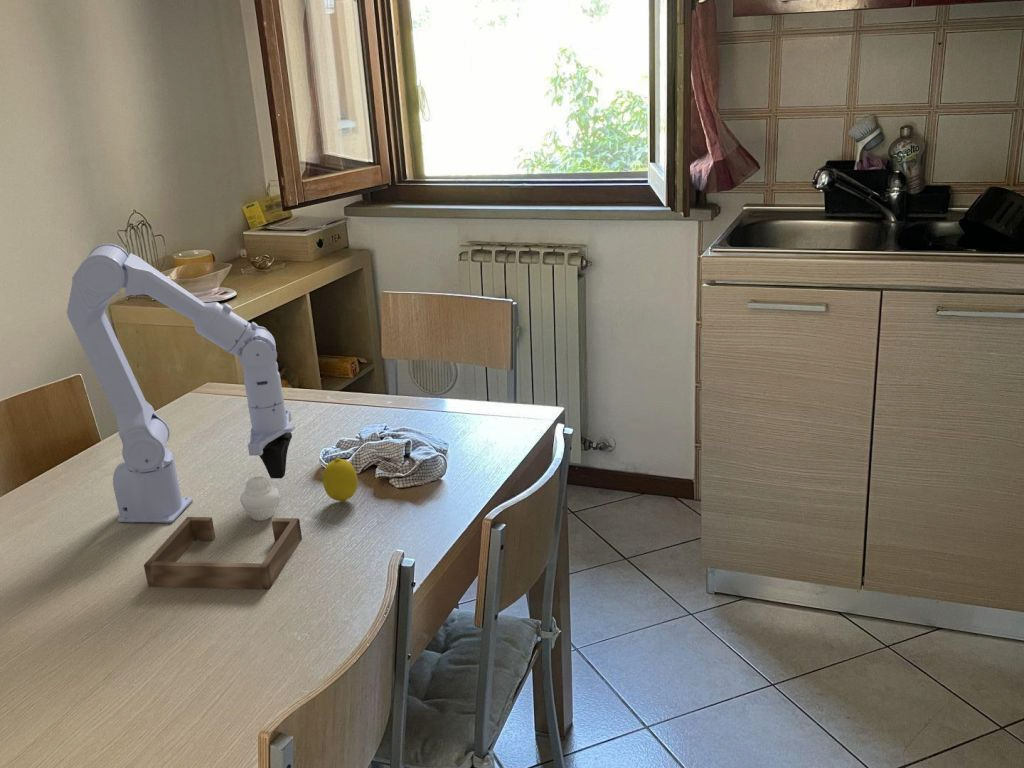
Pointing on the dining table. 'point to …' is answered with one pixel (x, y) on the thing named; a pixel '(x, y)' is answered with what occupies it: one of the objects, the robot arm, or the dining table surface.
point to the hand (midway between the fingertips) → (277, 476)
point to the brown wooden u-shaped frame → (219, 575)
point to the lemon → (340, 480)
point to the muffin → (259, 498)
